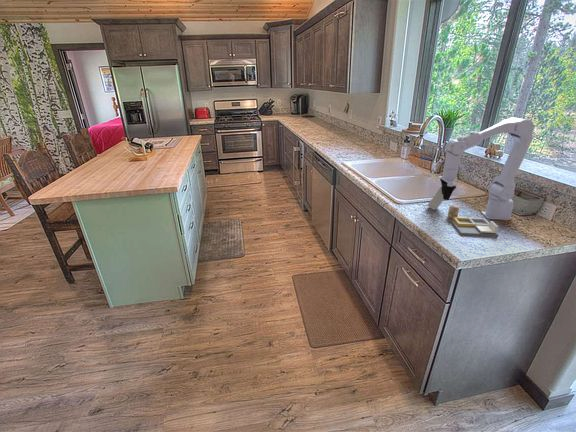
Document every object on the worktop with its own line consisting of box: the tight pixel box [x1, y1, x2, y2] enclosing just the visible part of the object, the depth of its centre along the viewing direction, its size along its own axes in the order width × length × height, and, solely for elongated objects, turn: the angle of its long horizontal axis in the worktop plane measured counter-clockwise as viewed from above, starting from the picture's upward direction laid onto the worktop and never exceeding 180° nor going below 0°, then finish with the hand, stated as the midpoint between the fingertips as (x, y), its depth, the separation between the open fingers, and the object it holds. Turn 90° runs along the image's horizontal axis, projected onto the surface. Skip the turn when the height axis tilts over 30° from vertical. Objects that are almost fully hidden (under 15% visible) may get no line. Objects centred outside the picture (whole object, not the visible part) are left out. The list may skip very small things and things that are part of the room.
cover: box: [476, 220, 499, 234], centre depth 125 cm, size 6×5×3 cm
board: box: [449, 216, 499, 238], centre depth 130 cm, size 14×14×2 cm
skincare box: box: [426, 185, 444, 211], centre depth 147 cm, size 6×4×12 cm
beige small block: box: [446, 204, 460, 221], centre depth 139 cm, size 4×4×6 cm
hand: (445, 196), depth 139 cm, fingers open, 7 cm apart
